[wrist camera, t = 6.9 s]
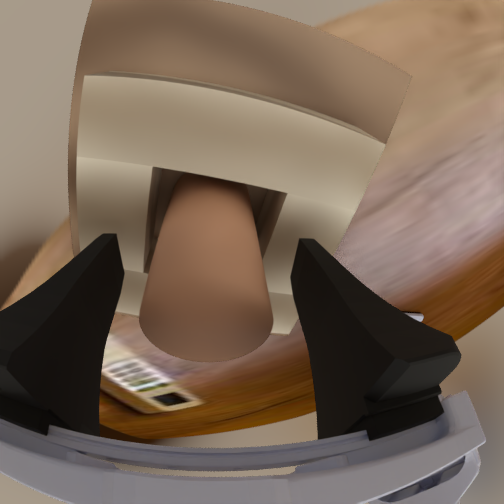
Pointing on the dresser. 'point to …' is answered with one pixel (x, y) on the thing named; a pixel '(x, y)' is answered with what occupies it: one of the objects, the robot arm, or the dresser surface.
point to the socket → (222, 128)
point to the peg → (207, 275)
